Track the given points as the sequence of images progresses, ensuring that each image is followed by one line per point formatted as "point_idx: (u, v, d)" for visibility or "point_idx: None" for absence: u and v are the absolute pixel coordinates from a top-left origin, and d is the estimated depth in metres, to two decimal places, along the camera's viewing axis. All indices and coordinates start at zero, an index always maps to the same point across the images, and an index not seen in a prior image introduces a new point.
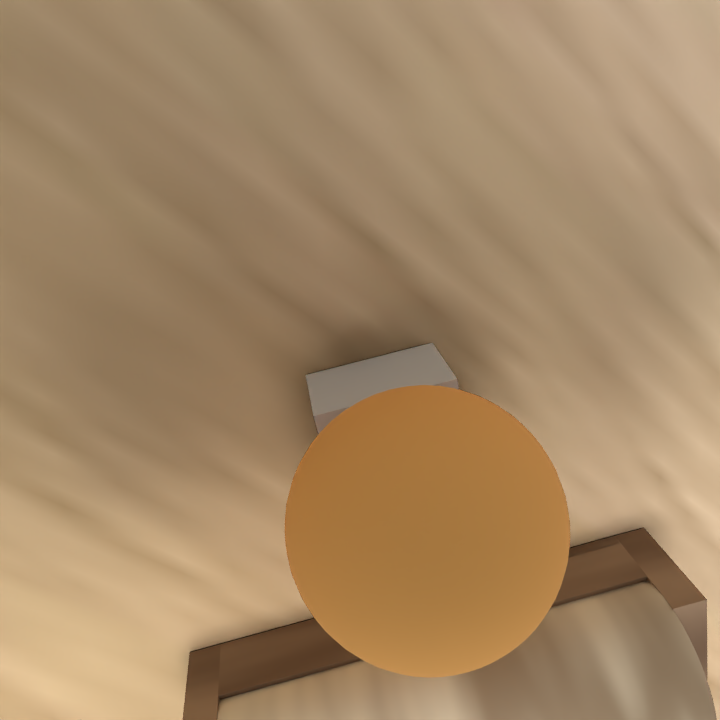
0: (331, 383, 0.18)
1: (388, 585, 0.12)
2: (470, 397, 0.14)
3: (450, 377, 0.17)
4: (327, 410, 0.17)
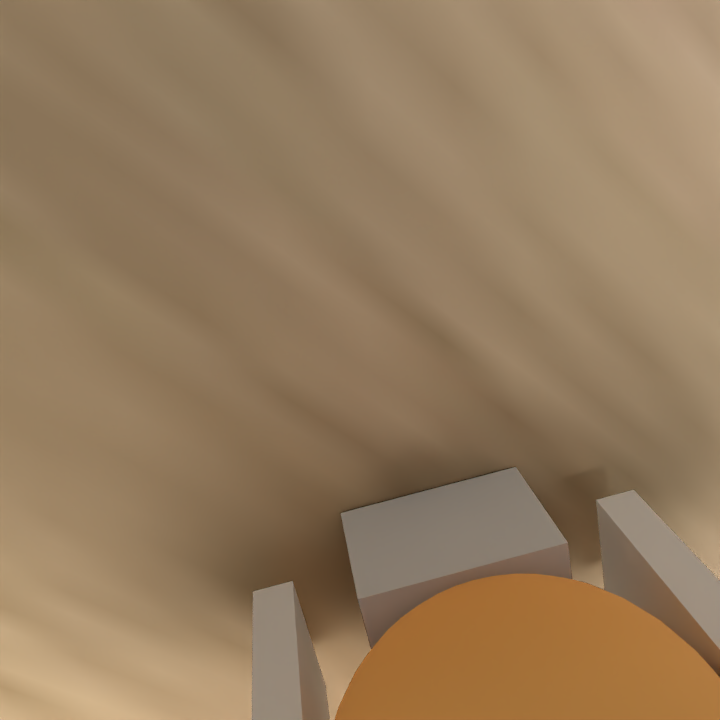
0: (379, 533, 0.13)
1: None
2: (620, 617, 0.09)
3: (556, 538, 0.12)
4: (377, 590, 0.11)
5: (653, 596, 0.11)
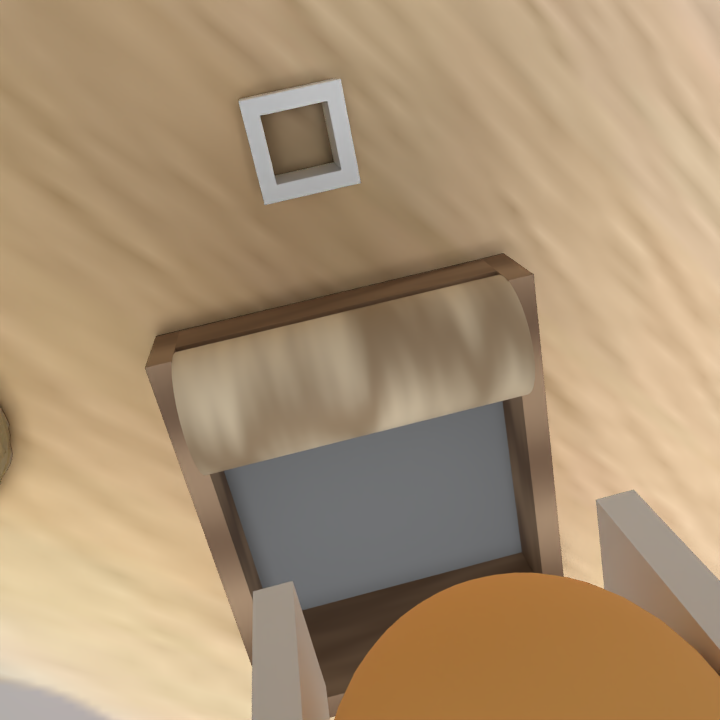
0: (255, 96, 0.25)
1: None
2: (620, 616, 0.09)
3: (336, 79, 0.24)
4: (248, 99, 0.24)
5: (652, 596, 0.11)
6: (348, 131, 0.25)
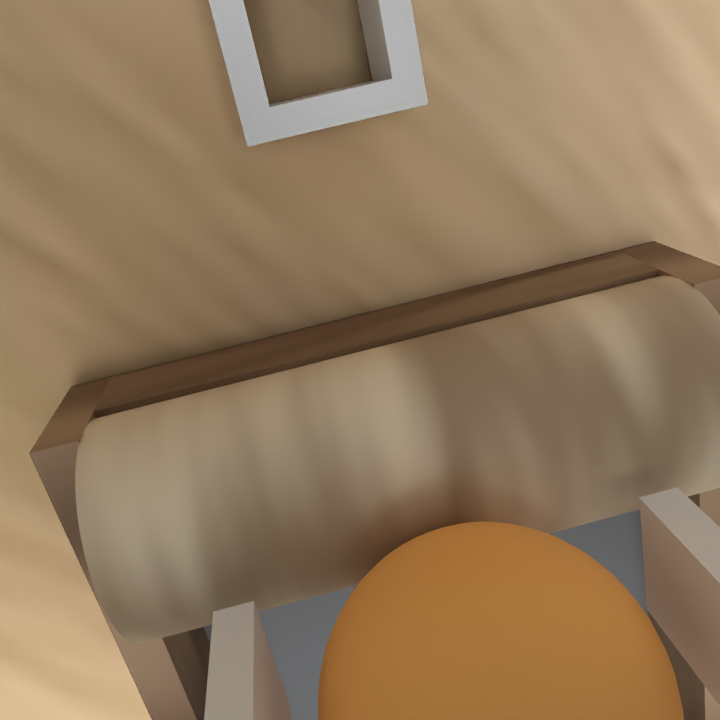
0: None
1: None
2: (566, 569, 0.11)
3: None
4: None
5: (703, 595, 0.11)
6: (405, 1, 0.13)
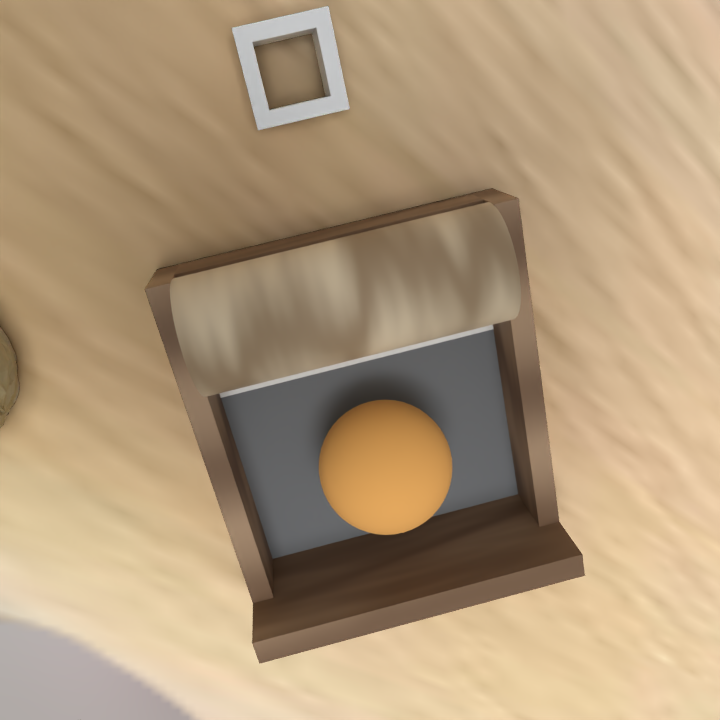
0: None
1: None
2: None
3: None
4: None
5: None
6: (336, 57, 0.26)
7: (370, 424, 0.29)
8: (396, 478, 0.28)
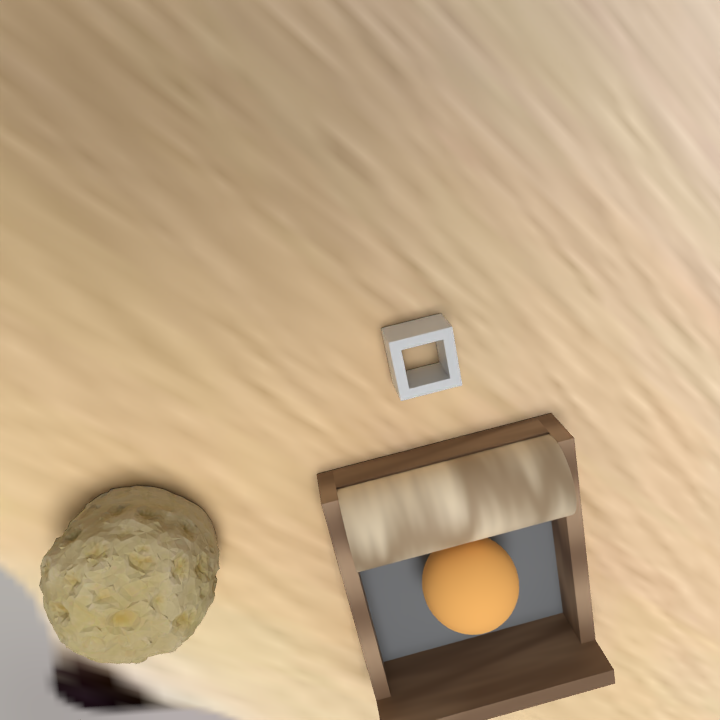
0: (394, 330, 0.39)
1: None
2: (507, 616, 0.41)
3: (449, 326, 0.38)
4: (394, 340, 0.38)
5: None
6: (455, 356, 0.38)
7: None
8: (474, 566, 0.41)
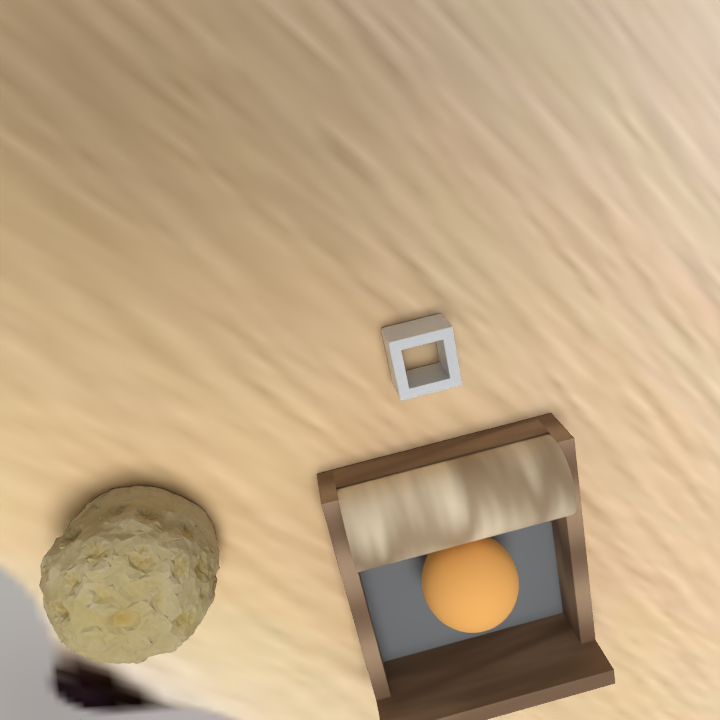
0: (394, 330, 0.39)
1: None
2: (507, 613, 0.41)
3: (449, 326, 0.38)
4: (394, 340, 0.38)
5: None
6: (455, 356, 0.38)
7: None
8: (473, 562, 0.41)
